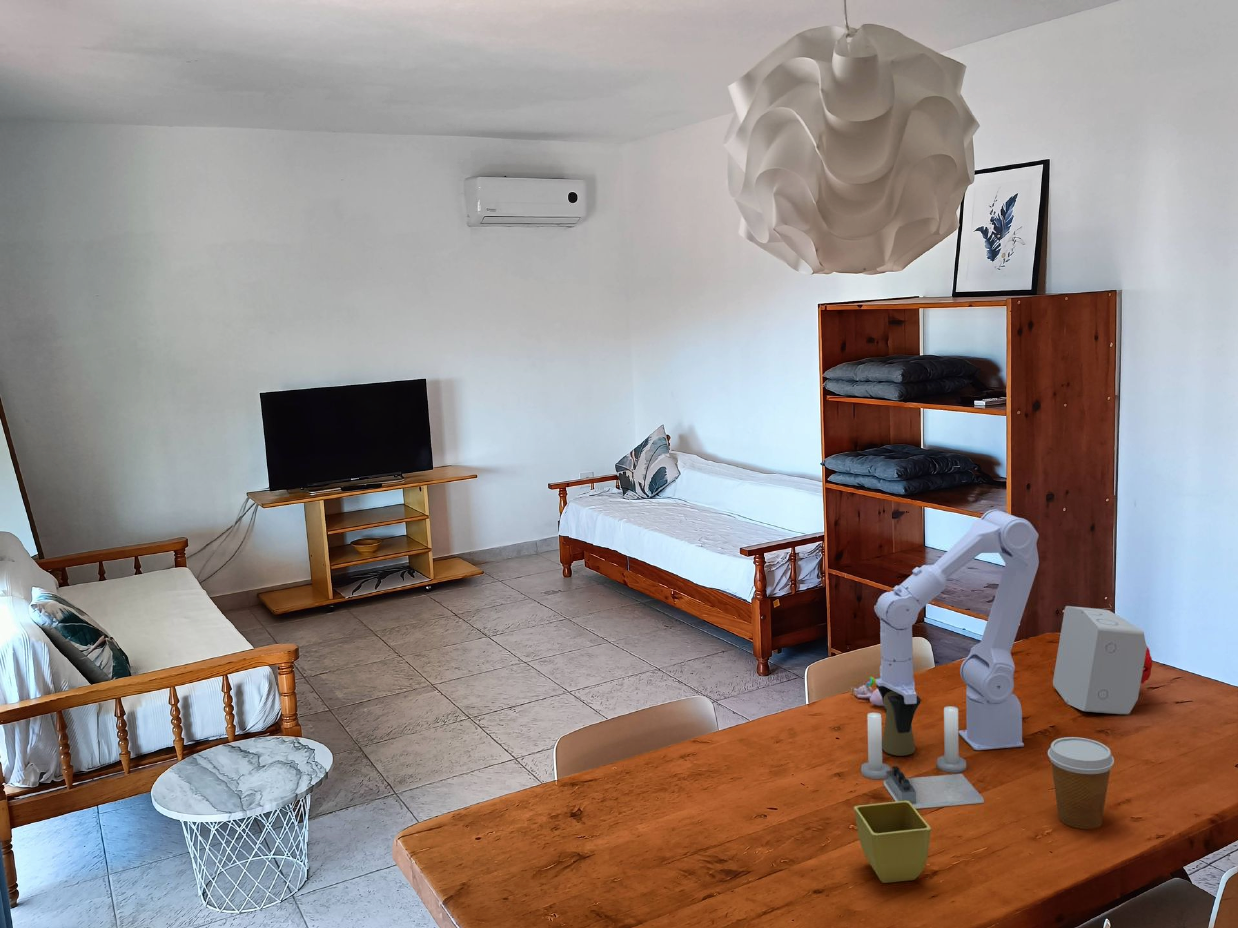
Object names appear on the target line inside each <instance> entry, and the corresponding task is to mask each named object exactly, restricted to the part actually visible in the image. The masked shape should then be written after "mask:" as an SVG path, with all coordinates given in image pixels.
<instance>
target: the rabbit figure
mask: <svg viewBox="0 0 1238 928" xmlns="http://www.w3.org/2000/svg"><path fill="white" fill-rule="evenodd" d="M869 679H870V680H869V681H867V682H866V683H865V684H862V685H861V684H859V687H858V688H856V687H852V686H850V695H853V693H854V696H855V697H856V698H857V699H869V702H870V703H871V704H872V705H875V706H877V707H884V703H883V700H882V697H881V694H880V692H879V690H878V688H876V689H874V690H873V689H872V688H873V687H875V686H876V683H875V680H876V678H874V677H873V676H869Z"/></svg>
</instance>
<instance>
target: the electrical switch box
mask: <svg viewBox="0 0 1238 928" xmlns="http://www.w3.org/2000/svg"><path fill="white" fill-rule="evenodd" d="M1146 643H1147V642H1146V638H1145V632H1144V630H1142V629H1141V628H1139V627H1138V626H1136V625H1134V624H1133V623H1131V622H1129V621H1127V620H1126V619H1124V618H1122V617H1121V616H1120V615H1117V614H1116V613H1114V612H1112V611H1111V610H1108V609H1104V608H1103V609H1102V608H1094V607H1092V608H1091V607H1084V606H1083V607H1080V606H1071V605H1066V606H1065V607H1064V611H1063V618H1062V624H1061V629H1060V637H1059V642H1058V648H1057V654H1056V659H1055V660H1056V661H1055V666H1054V672H1053V673H1054V674H1053V679H1052V685H1053V687H1054V689H1056V691H1057V693H1058V694H1059V695H1060V696H1061V698H1062V699H1063V700H1064V702H1065V703H1066V704H1067V705H1068V706H1072V707H1073V708H1076V709H1078V710H1080V711H1082V712H1087V713H1088V712H1089V713H1091V712H1092V713H1103V714H1114V715H1130V714H1131V711H1133V708H1134V707H1135V705H1136V703H1137V701H1138V699H1139V695H1140V690H1141V689H1140V688H1141V684H1144V683H1146V681H1148V680H1149V678H1150V677H1151V675H1152V673H1151V672H1152V668H1153V657H1152V656H1151V651H1150V648H1149V647H1148V646H1147V644H1146Z"/></svg>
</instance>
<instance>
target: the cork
mask: <svg viewBox="0 0 1238 928" xmlns="http://www.w3.org/2000/svg"><path fill="white" fill-rule="evenodd" d="M888 696H898V693H897V692H895V691H890V692H888V693H887V694H886V695H885V696H884V705H883V707H884V706H885V707H884V709H885V708H886V709H887V712H885V721H884V730H883V735H882V736H883V737H882V751H884V752H885V753H887V754H890V755H893V756H899V757H902V756H909V755H912V754H913V753H915V751H916V746H915V739H914V733H913V728H912V724H911V728H910V732H907V733H898V731H897V728H896V723H895V716H894V712H893V709H892V706H891V704H890V702H889V700H888Z"/></svg>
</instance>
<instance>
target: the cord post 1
mask: <svg viewBox="0 0 1238 928" xmlns="http://www.w3.org/2000/svg"><path fill="white" fill-rule="evenodd" d="M866 716H867V748H868V749H867V752H868V753H867V754H868V760H867V762H864V763H862V764H861V766H860V767H861V768H860V770H861V775H862V776H863V777H865V778H866V777H867V778H866V779H869V778H870V780H875V779H876V780H877V779H880V780H885V779H886V771H890V770H891V768H890V765H888V764H887V763H884V762H883V749H882V744H883V737H882V736H883V735H882V730H883V729H882V714H881V713H879V712H868V713H867V715H866ZM877 781H878V780H877Z"/></svg>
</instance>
